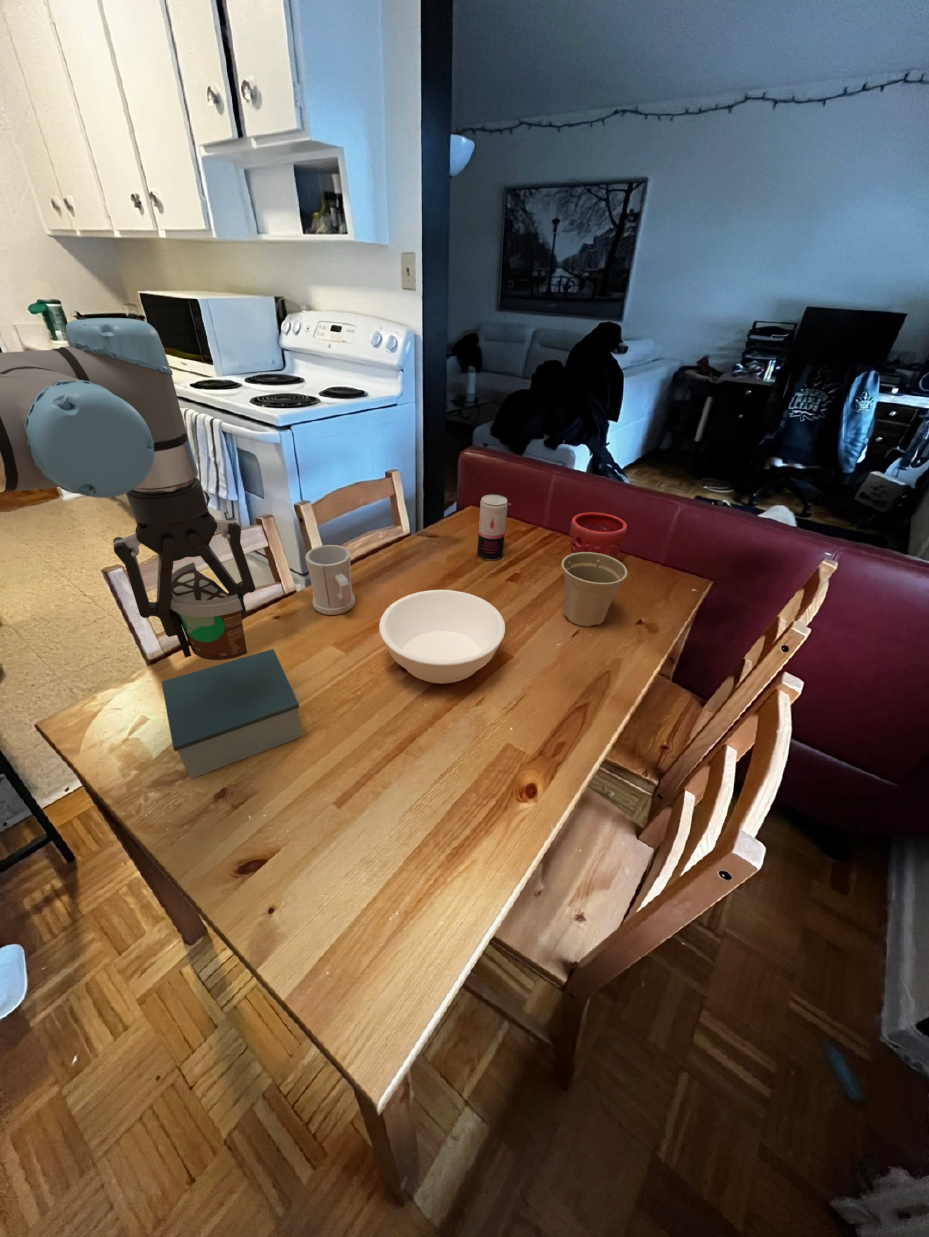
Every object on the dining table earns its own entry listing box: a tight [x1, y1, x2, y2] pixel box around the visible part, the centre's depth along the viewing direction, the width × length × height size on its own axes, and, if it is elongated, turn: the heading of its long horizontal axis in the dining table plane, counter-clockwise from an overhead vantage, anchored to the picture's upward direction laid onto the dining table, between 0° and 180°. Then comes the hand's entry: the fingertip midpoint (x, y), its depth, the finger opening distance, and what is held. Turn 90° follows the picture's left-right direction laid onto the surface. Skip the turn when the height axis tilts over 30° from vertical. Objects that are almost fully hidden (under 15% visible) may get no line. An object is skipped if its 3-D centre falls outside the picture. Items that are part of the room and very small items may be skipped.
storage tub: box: [161, 648, 304, 780], centre depth 76 cm, size 17×15×7 cm
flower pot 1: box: [569, 511, 628, 559], centre depth 123 cm, size 13×13×12 cm
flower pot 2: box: [560, 552, 628, 628], centre depth 104 cm, size 13×13×12 cm
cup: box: [304, 544, 356, 616], centre depth 103 cm, size 10×9×12 cm
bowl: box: [378, 589, 506, 684], centre depth 91 cm, size 22×22×8 cm
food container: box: [170, 561, 248, 661], centre depth 66 cm, size 12×6×10 cm, turn 49°
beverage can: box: [476, 494, 509, 561], centre depth 124 cm, size 7×7×15 cm
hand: (214, 643), depth 69 cm, fingers closed on food container, 6 cm apart
